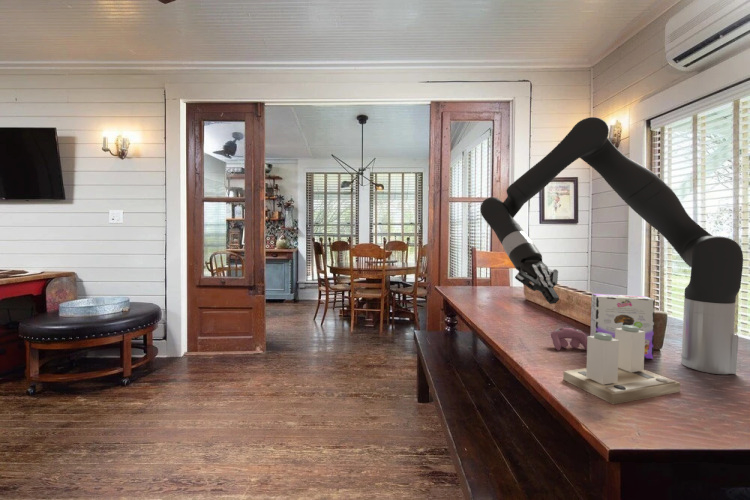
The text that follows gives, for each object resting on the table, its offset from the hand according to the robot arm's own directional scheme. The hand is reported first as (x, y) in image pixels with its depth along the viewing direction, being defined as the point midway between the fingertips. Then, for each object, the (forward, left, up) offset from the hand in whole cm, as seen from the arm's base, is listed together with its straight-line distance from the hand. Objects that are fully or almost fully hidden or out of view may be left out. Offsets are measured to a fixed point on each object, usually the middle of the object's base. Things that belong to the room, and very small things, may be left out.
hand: (554, 301), depth 86 cm
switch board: (-12, +7, -17) cm, 22 cm away
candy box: (-19, -18, -17) cm, 32 cm away
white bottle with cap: (-8, +11, -14) cm, 19 cm away
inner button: (-16, +1, -14) cm, 21 cm away
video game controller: (-7, -18, -17) cm, 26 cm away
